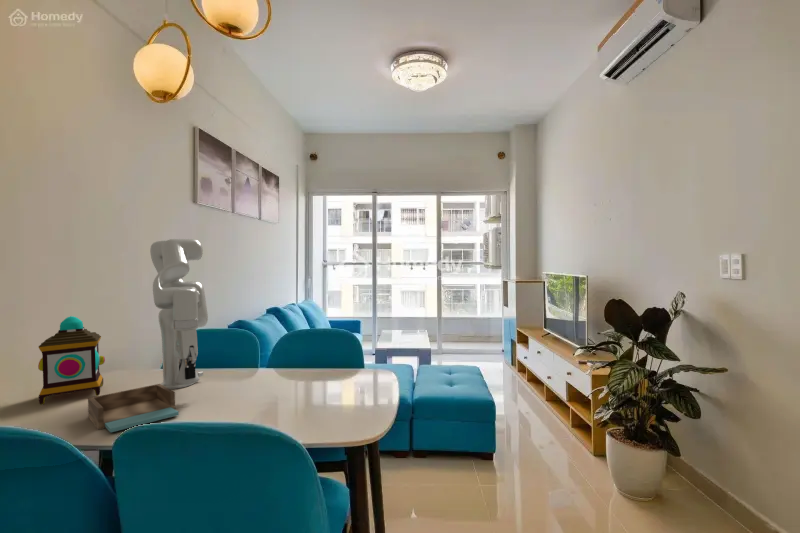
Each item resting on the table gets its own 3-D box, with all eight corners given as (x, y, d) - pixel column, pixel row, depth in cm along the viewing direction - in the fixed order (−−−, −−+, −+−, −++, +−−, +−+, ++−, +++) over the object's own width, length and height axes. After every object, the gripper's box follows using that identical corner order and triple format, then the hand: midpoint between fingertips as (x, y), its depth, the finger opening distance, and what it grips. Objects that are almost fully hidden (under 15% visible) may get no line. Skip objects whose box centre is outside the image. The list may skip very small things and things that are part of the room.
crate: (160, 400, 141) (159, 383, 141) (175, 410, 130) (174, 391, 130) (88, 417, 127) (87, 398, 127) (98, 429, 116) (98, 408, 116)
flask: (189, 386, 135) (188, 356, 135) (170, 385, 137) (169, 355, 137) (203, 379, 142) (203, 351, 142) (185, 378, 144) (185, 350, 144)
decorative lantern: (103, 395, 151) (101, 315, 151) (33, 407, 140) (30, 320, 141) (107, 384, 168) (105, 312, 168) (44, 394, 157) (42, 316, 157)
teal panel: (170, 407, 129) (178, 411, 123) (170, 410, 129) (178, 414, 123) (104, 423, 116) (110, 428, 111) (104, 426, 116) (110, 432, 111)
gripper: (165, 323, 142) (167, 374, 143) (182, 328, 130) (184, 384, 131) (188, 320, 148) (190, 370, 148) (206, 325, 136) (208, 379, 136)
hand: (187, 376), depth 140 cm, fingers closed on flask, 5 cm apart
